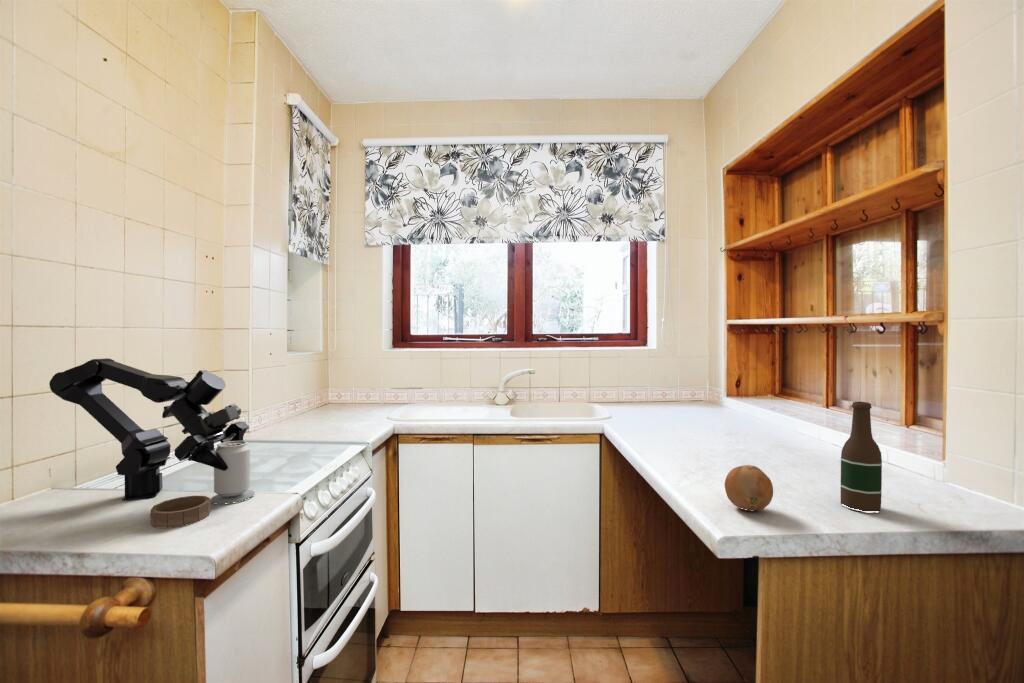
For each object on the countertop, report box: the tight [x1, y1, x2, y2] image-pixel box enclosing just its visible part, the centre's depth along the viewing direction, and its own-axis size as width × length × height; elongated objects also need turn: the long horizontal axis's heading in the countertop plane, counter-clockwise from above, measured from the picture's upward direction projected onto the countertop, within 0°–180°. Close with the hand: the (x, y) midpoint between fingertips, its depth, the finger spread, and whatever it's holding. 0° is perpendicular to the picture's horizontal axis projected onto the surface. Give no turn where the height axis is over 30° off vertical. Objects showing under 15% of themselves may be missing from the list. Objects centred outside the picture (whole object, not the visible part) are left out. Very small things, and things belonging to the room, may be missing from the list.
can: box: [213, 440, 251, 496], centre depth 111 cm, size 8×8×12 cm
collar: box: [150, 495, 212, 529], centre depth 99 cm, size 10×10×3 cm
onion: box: [724, 464, 774, 511], centre depth 104 cm, size 10×10×10 cm
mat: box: [210, 489, 255, 505], centre depth 112 cm, size 9×9×1 cm
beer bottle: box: [840, 401, 883, 512], centre depth 104 cm, size 8×8×24 cm
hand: (237, 464), depth 111 cm, fingers open, 7 cm apart
